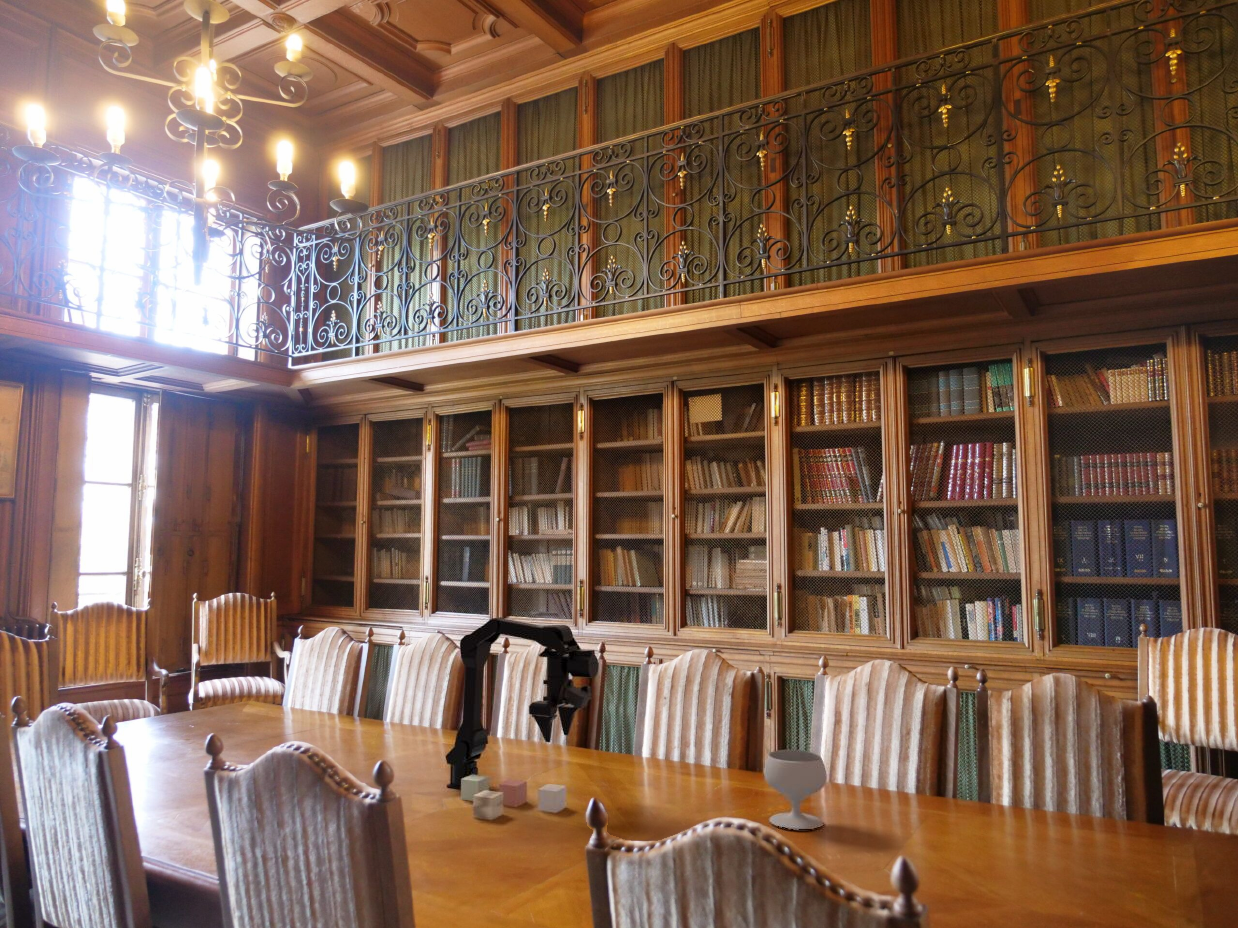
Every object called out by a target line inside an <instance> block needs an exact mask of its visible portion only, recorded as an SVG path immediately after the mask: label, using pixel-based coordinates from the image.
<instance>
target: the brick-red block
mask: <svg viewBox="0 0 1238 928" xmlns="http://www.w3.org/2000/svg"><path fill="white" fill-rule="evenodd" d="M527 787H528V781H526V780H522V779H521V780H520V779H514V778H513V779H512V778H509V779H507V780H505V781H502V782H500V783H498V792H503V807H511V808H513V807H514V808H517V807H519V806H521V805H524V804H525V803H527V800H528V799H527V797H528V795H527V794H528V788H527Z"/></svg>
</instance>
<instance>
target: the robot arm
mask: <svg viewBox="0 0 1238 928" xmlns="http://www.w3.org/2000/svg"><path fill="white" fill-rule="evenodd" d="M501 635H504V636H508V637H509V636H510V637H514V638H520V639H525V640H530V641H533V642H536V643H537V644H539V646H541V647H542V646H543V647H544V650H542V652H540V653H539V655H538V656H539V658H546V679H543V681H542V683H543V685H546V695H544V696H542V700H536V701H533V702H531V703H530V704H529V706H528V714H529V715H531V718H533V719H534V720H535V722H536V724H537V726H538V727H539V729H540V732H541V734H542V737H543V740H544V742H545V743H548V744H549V743H551V741H552V731H553V722H554V720H555V719H556V718H557V717H558V715H559V719H560V724H561V729H562V733H563V736H569V735H570V731H571V728H572V724H573V721H574V718H575V714H576V713H577V712H578V711H580V710H581V709H583V708H584V707H585V708H586V707H587V706H588V703H589V700H592V699H593V697H592V696H593V695H592V688H591V687H592V686H589V685H587V684H585V685H582V687H580V686H578V687H577V686H575V685H574V680H573V678H588V679H590V678H591V679H595V678H596V676H597V675H598V674H599V670H600V669H599V668H600V663H599V661H598V657H597V655H595V654H596V652H595V649H587V650H584V649H581V646H580V645H579V644H578V642H577V641H576V639H575V637H574V635H573V631H572V629H571V628H570V626H569V625H567V624H550V625H549V624H548V625H545V624H544V625H543V624H542V625H541V624H534V623H529V622H523V621H518V620H515V619H514V620H513V619H508V618H505V617H502V616H501V617H499V616H498V617H492V618H490V619H489V620H488V621H486V623H484V624H483V625H481V626H480V627H478V628H477V629H475V630H474V631H472V632H471V633H469V634H466V635H464V636H463V637H462V638H461V639H460V641H459V651H460V652H459V653H460V658H461V660H462V663H463V665H464V686H463V702H462V703H463V704H462V705H463V706H462V721H461V724H460V726H459V728H458V730H457V732H456V736H455V740H454V746H453V747H452V748H451V749H450V750H449V752H447V754H445V761H446V763H447V765H450V768H449V769H450V774H449V775H450V778H449V782H450V783H447V784H446V787H447V788H453V789H454V788H455V789H458V790H459V789H460V790H461V779H463V778H465V777H467V776H470V775H472V774H474V775H479V767H478V764H477V763H478V761H477V760H480V759H481V756H482V754H483V752H484V751H485V750H486V747H487V745H488V744H489V739H488V736H489V728H487V727H485V728H484V726H483V724H482V706H483V689H484V670H485V669H484V668H485V666H486V663H487V662H488V660H489V657H490V653H491V648H492V645H493V644H494V643H495V642H497V640H498V639H499V638H500V636H501ZM570 676H571V677H573V678H570ZM557 713H558V714H557Z"/></svg>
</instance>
